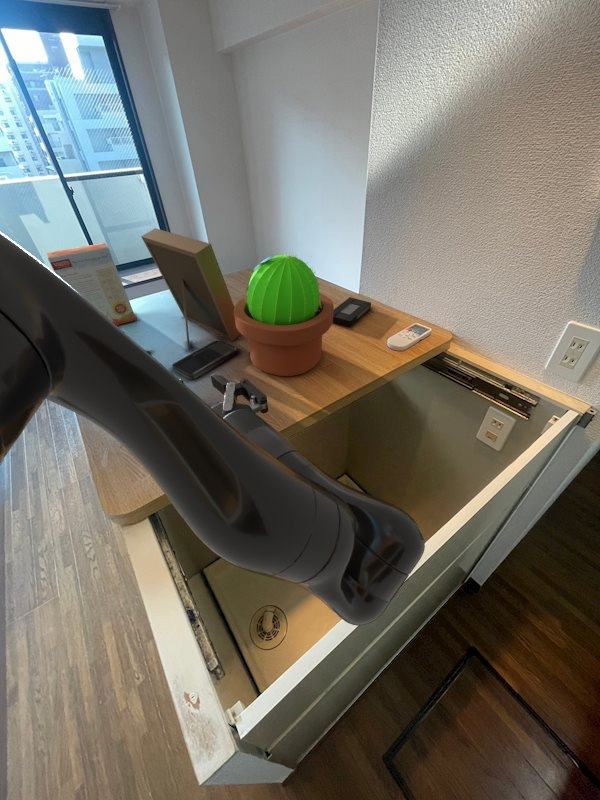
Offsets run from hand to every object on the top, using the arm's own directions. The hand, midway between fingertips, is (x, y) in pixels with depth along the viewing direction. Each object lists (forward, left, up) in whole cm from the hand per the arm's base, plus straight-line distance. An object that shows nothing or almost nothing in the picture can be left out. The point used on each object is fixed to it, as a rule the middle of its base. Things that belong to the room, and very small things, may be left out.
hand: (187, 391), depth 47 cm
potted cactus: (+13, +32, -16) cm, 38 cm away
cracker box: (-39, +52, -16) cm, 67 cm away
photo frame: (-12, +45, -16) cm, 49 cm away
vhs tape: (+32, +54, -16) cm, 65 cm away
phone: (-7, +31, -16) cm, 36 cm away
